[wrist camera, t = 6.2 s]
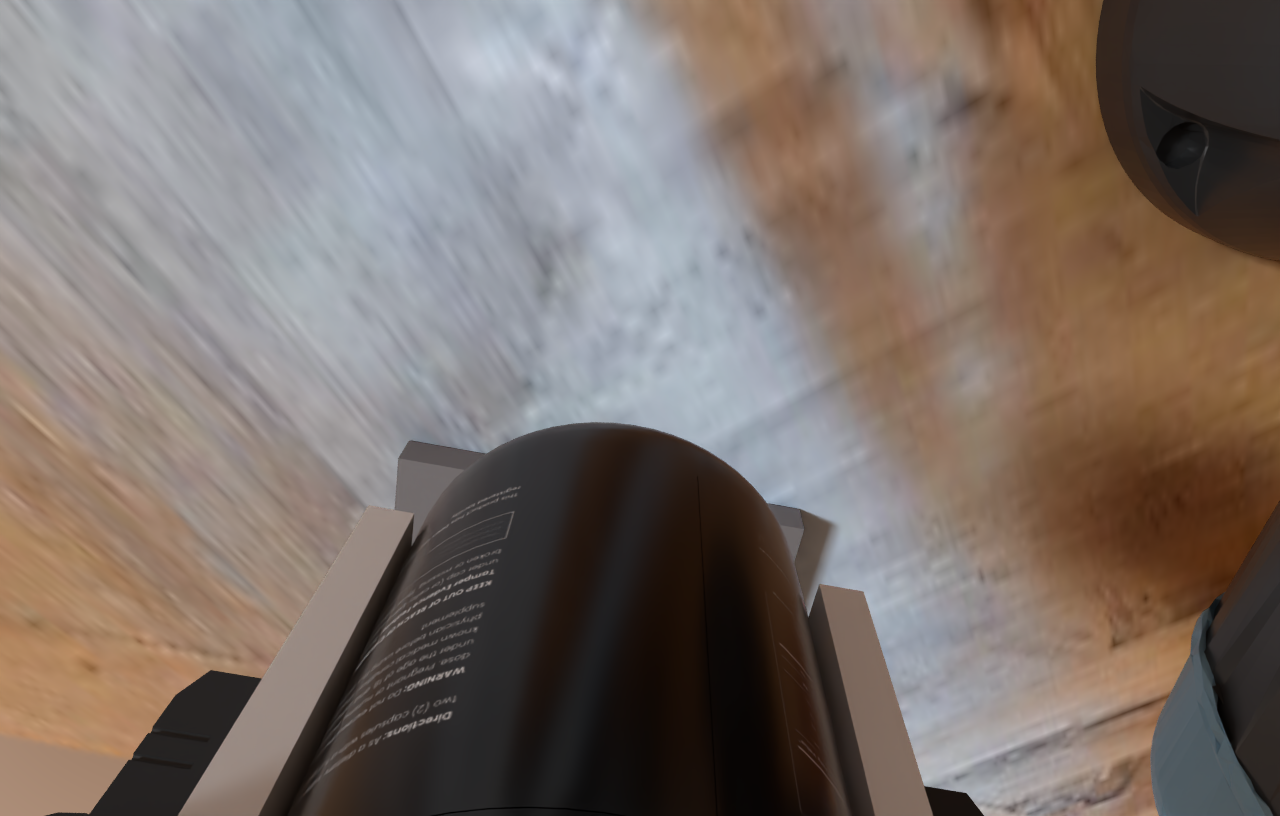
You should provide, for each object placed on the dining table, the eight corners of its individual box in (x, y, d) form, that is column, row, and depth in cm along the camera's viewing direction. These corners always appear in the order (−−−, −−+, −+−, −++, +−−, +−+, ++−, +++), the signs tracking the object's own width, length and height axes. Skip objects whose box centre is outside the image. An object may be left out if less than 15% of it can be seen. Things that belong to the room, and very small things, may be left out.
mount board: (799, 509, 36) (804, 530, 34) (724, 757, 42) (726, 784, 40) (409, 440, 35) (397, 459, 34) (389, 702, 41) (378, 728, 40)
